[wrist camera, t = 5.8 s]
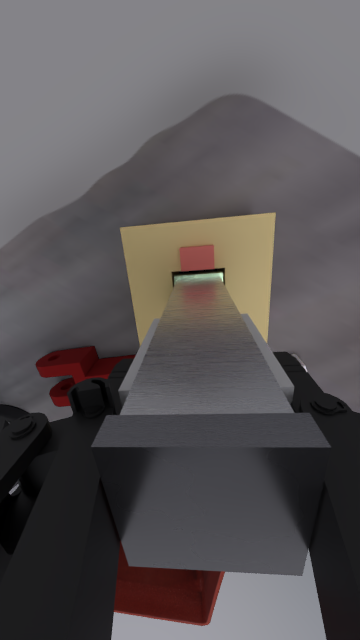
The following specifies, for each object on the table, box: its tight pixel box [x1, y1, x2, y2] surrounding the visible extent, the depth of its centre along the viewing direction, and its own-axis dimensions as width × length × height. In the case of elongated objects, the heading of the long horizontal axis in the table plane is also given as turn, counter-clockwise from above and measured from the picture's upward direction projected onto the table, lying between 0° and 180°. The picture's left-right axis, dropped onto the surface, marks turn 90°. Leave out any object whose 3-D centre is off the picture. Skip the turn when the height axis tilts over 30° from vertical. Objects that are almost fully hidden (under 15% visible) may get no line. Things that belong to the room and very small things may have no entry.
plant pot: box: [114, 540, 225, 626], centre depth 35 cm, size 19×19×17 cm
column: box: [91, 271, 331, 576], centre depth 14 cm, size 5×5×21 cm
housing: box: [120, 212, 276, 346], centre depth 25 cm, size 14×14×10 cm
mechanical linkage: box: [36, 346, 136, 407], centre depth 34 cm, size 16×7×5 cm, turn 100°
